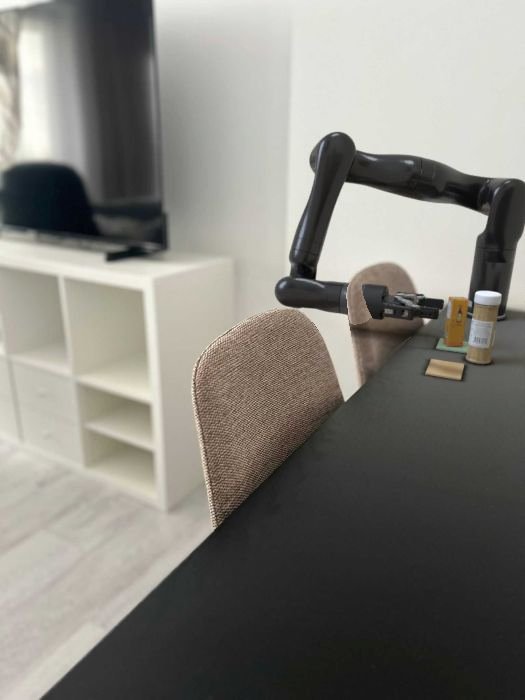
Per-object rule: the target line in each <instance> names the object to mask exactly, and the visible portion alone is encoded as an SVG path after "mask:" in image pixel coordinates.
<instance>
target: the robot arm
mask: <svg viewBox="0 0 525 700" xmlns="http://www.w3.org/2000/svg"><path fill="white" fill-rule="evenodd" d="M355 144H356V143H355V142H354V140H353V138H352V137H351V136H350V135H349V134H348V133H345V132H343V131H333V132H329V133H327V134H325V135H324V136H323V137H322V138H321V139H320V140H319V141H318V142H317V143H316V144H315V145H314V147H313V148H312V150H311V152H310V154H309V158H308V161H309V162H308V163H309V167H310V169H311V172H313V175H314V177H313V183H312V186H311V190H310V193H309V196H308V199H307V202H306V204H305V206H304V209H303V212H302V214H301V216H300V219H299V221H298V224H297V226H296V229H295V233H294V236H293V239H292V243H291V246H290V250H289V254H288V261H289V263H290V271H289V274H288V275H286V276H283V277H282V278H280V279H279V280H278V281H277V282H276V284H275V286H274V296H275V299H276V300H277V302H278V303H279V304H281V305H282V306H284V307H287V308H292V309H296V310H297V309H312V310H319V311H321V312H326V313H332V314H339V315H345V316H349V315H348V308H347V299H346V293H347V287H348V285H349V283H350V282H343V281H336V280H319V279H317V272H318V264H319V262H320V259H321V255H322V252H323V249H324V245H325V243H326V242H325V241H326V238H327V236H328V235H327V234H328V231H329V227H330V223H331V220H332V217H333V213H334V211H335V208H336V205H337V202H338V199H339V196H340V194H341V191H342V189H343V187H344V185H345V184H353V185H354V184H355V185H360V186H365V187H369V188H372V189H375V190H377V191H378V190H379V191H381V192H385V193H387V194H393V195H396V196H400V197H403V198H407V199H411V200H414V201H415V200H416V201H420V202H425V203H433V204H445V205H446V204H449V205H454V206H455V205H456V206H459V207H462V208H465V209H469V210H471V211H474V212H477V213H479V214H481V215H484V216H487V220H486V225H485V228H484V229H483V231H482V232H480V233H479V234H478V235H477V236H476V240H475V246H474V253H473V260H472V267H471V274H470V281H469V287H468V288H469V289H468V294H467V299H468V300H469V302H468V309H467V316H466V317H470V318H472V317H473V312H474V303H475V302H474V298H475V293H476V292H478V291H492V292H497V293H500V294H501V295H502V297H501V304H500V306H499V308H498V315H497V321H502V320H504V319H506V311H507V306H508V300H509V294H510V289H511V282H512V277H513V272H514V268H515V267H514V266H515V261H516V255H517V249H518V244H519V241H520V240H521V238H522V237H523V234H524V231H525V181H524V180H522V179H520V178H516V177H491V176H480V175H474V174H469V173H464V172H462V171H460V170H457V169H456V168H454V167H452V166H450V165H448V164H446V163H444V162H440V161H437V160H435V159H431V158H428V157H422V156H419V155H413V154H404V153H403V154H401V153H399V154H398V153H393V154H392V153H371V152H366V151H362V150H359V149H357V148H356V147H357V146H356V145H355ZM362 283H363V285H362V291H363V296H364V299H365V301H366V305H367V308H368V310H369V312H370V314H371V316H372V318H373V319H372V320H378V321H382V320H384V319H385V318H391V319H398V320H404V321H410V322H411V321H415V320H417V319H426V320H427V319H428V320H434V321H436V320H438V319H439V318H440V317H439V316H440V311H442V310H443V309H444V306H445V300H444V299H443V298H435V297H434V298H433V297H427V296H425V294H424V293H414V292H405V291H397V292H396V295H395V294H394V295H393V294H390V293H389V292H390V290H389V287H388V285H385V284H378V283H377V284H376V283H366V282H362Z"/></svg>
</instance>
